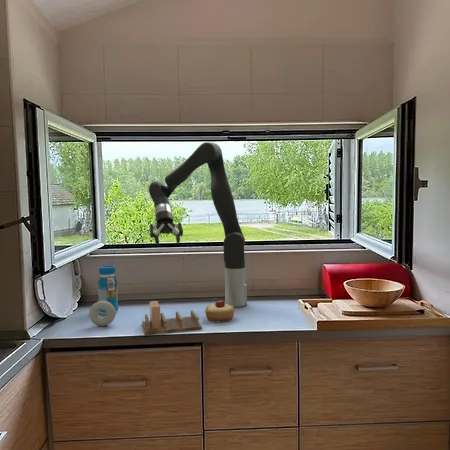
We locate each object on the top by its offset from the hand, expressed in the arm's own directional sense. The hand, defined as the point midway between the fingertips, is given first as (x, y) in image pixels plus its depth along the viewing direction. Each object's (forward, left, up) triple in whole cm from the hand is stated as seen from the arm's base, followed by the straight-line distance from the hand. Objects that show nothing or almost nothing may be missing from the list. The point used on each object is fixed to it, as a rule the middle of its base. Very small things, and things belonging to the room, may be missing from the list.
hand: (168, 243), depth 177 cm
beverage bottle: (+26, -8, -30) cm, 40 cm away
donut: (+28, +12, -30) cm, 43 cm away
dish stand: (+2, +22, -30) cm, 37 cm away
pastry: (-18, +18, -30) cm, 39 cm away
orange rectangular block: (+8, +21, -29) cm, 36 cm away
